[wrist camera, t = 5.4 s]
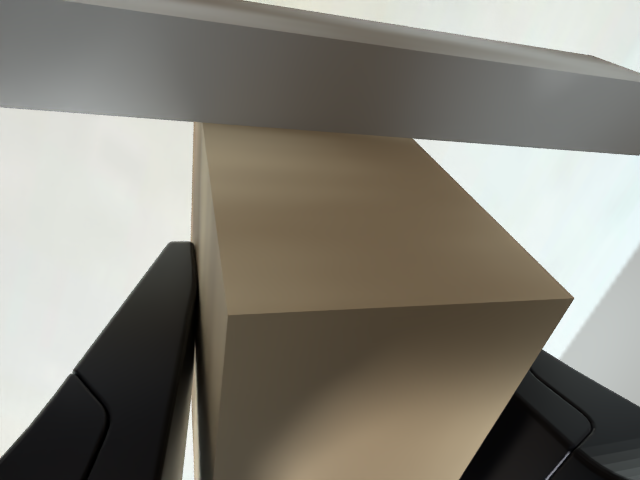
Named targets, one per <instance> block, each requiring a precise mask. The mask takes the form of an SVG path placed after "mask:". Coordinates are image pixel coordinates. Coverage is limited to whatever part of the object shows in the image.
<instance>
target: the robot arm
mask: <svg viewBox="0 0 640 480" xmlns="http://www.w3.org/2000/svg"><path fill="white" fill-rule="evenodd" d="M196 305H197V271H196V260H195V249H194V244H193V243H192V242H170V243H168V244H167V246H166V247H165V248H164V250H163V251H162V252H161V254H160V255H159V256H158V258H157V259H156V260H155V262H154V263H153V264H152V266H151V267H150V268H149V270H148V271H147V272H146V274H145V275H144V276H143V278H142V279H141V280H140V282H139V283H138V284H137V286H136V287H135V288H134V290H133V291H132V292H131V294H130V295H129V296H128V298H127V299H126V300H125V302H124V303H123V304H122V306H121V307H120V308H119V310H118V311H117V312H116V314H115V315H114V316H113V318H112V319H111V320H110V322H109V323H108V324H107V326H106V327H105V328H104V330H103V331H102V332H101V334H100V335H99V336H98V338H97V339H96V340H95V342H94V343H93V344H92V345H91V347H90V348H89V349H88V351H87V352H86V353H85V355H84V356H83V357H82V359H81V360H80V361H79V363H78V364H77V365H76V367H75V368H74V369H73V374H70V375H69V376H68V377H67V378H66V380H65V381H64V382H63V384H62V385H61V386H60V388H59V389H58V390H57V392H56V393H55V394H54V396H53V397H52V398H51V399H50V401H49V402H48V403H47V404H46V406H45V407H44V408H43V409H42V411H41V412H40V413H39V414H38V416H37V417H36V418H35V419H34V421H33V422H32V423H31V424H30V426H29V427H28V428H27V429H26V430H25V431H24V432H23V434H22V435H21V436H20V437H19V438H18V439H17V440H16V441H15V442H14V444H13V445H12V446H11V447H10V448H9V449H8V450H7V451H6V452H5V454H4V455H3V456H2V457H1V458H0V480H182V474H183V465H184V456H185V447H186V438H187V429H188V420H189V411H190V402H191V393H192V384H193V374H194V359H195V332H196ZM459 480H640V407H639V406H637V405H636V404H633V403H632V402H630V401H629V400H627V399H625V398H623V397H622V396H620V395H618V394H616V393H614V392H613V391H611V390H609V389H607V388H606V387H604V386H602V385H600V384H599V383H597V382H595V381H594V380H592V379H590V378H588V377H587V376H585V375H583V374H581V373H580V372H578V371H576V370H574V369H573V368H571V367H569V366H568V365H566V364H565V363H563V362H561V361H560V360H558V359H557V358H555V357H553V356H552V355H550V354H549V353H547V352H545V351H544V350H541V351H540V353H539V355H538V356H537V358H536V359H535V361H534V362H533V364H532V366H531V367H530V369H529V370H528V372H527V373H526V375H525V377H524V378H523V380H522V381H521V383H520V384H519V386H518V388H517V389H516V391H515V392H514V394H513V395H512V397H511V399H510V400H509V402H508V403H507V405H506V406H505V408H504V410H503V411H502V413H501V414H500V416H499V417H498V419H497V421H496V422H495V424H494V425H493V427H492V428H491V430H490V432H489V433H488V435H487V436H486V438H485V439H484V441H483V443H482V444H481V446H480V447H479V449H478V450H477V452H476V454H475V455H474V457H473V458H472V460H471V461H470V463H469V465H468V466H467V468H466V469H465V471H464V472H463V474H462V476H461V477H460V479H459Z"/></svg>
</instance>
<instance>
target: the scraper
mask: <svg viewBox="0 0 640 480" xmlns="http://www.w3.org/2000/svg"><path fill="white" fill-rule="evenodd" d="M0 107H4V108H17V109H31V110H44V111H57V112H70V113H83V114H97V115H110V116H123V117H136V118H150V119H163V120H176V121H189V122H194V134H193V173H192V212H191V242H192V243H193V244H194V249H195V260H196V271H197V305H196V332H195V359H194V374H193V384H192V393H191V399H192V427H193V454H194V480H459V479H460V477H461V476H462V474H463V472H464V471H465V469H466V468H467V466H468V465H469V463H470V461H471V460H472V458H473V457H474V455H475V454H476V452H477V450H478V449H479V447H480V446H481V444H482V443H483V441H484V439H485V438H486V436H487V435H488V433H489V432H490V430H491V428H492V427H493V425H494V424H495V422H496V421H497V419H498V417H499V416H500V414H501V413H502V411H503V410H504V408H505V406H506V405H507V403H508V402H509V400H510V399H511V397H512V395H513V394H514V392H515V391H516V389H517V388H518V386H519V384H520V383H521V381H522V380H523V378H524V377H525V375H526V373H527V372H528V370H529V369H530V367H531V366H532V364H533V362H534V361H535V359H536V358H537V356H538V355H539V353H540V351H541V350H542V348H543V347H544V345H545V344H546V342H547V340H548V339H549V337H550V336H551V334H552V333H553V331H554V329H555V328H556V326H557V325H558V323H559V322H560V320H561V318H562V317H563V315H564V314H565V312H566V311H567V309H568V307H569V306H570V304H571V303H572V301H573V300H574V297H573V296H572V295H571V294H570V293H569V292H568V291H567V290H566V289H565V288H564V287H562V286H561V285H560V284H559V283H558V282H557V281H556V280H555V279H554V278H553V277H552V276H551V275H550V274H549V273H548V272H547V271H546V270H545V269H544V268H543V267H542V266H541V265H540V264H539V263H538V262H537V261H536V260H535V259H534V258H533V257H532V256H531V255H530V254H529V253H528V252H527V251H526V250H525V249H524V248H523V247H522V246H521V245H520V244H519V243H518V242H517V241H516V240H515V239H514V238H513V237H512V236H511V235H510V234H509V233H508V232H507V231H506V230H505V229H504V228H503V227H502V226H501V225H500V224H499V223H498V222H497V221H496V220H495V219H494V218H493V217H492V216H491V215H490V214H489V213H487V212H486V211H485V210H484V209H483V208H482V207H481V206H480V205H479V204H478V203H477V202H476V201H475V200H474V199H473V198H472V197H471V196H470V195H469V194H468V193H467V192H466V191H465V190H464V189H463V188H462V187H461V186H460V185H459V184H458V183H457V182H456V181H455V180H454V179H453V178H452V177H451V176H450V175H449V174H448V173H447V172H446V171H445V170H444V169H443V168H442V167H441V166H440V165H439V164H438V163H437V162H436V161H435V160H434V159H433V158H432V157H431V156H430V155H429V154H428V153H427V152H426V151H425V150H424V149H423V148H422V147H421V146H420V145H419V144H418V143H417V142H416V141H415V140H414V139H427V140H440V141H453V142H467V143H480V144H493V145H506V146H519V147H533V148H546V149H559V150H572V151H585V152H599V153H612V154H625V155H638V156H639V155H640V73H638V72H635V71H633V70H630V69H627V68H624V67H622V66H619V65H616V64H613V63H611V62H608V61H605V60H602V59H600V58H597V57H594V56H591V55H584V54H578V53H572V52H565V51H559V50H553V49H546V48H540V47H534V46H527V45H521V44H515V43H508V42H502V41H496V40H489V39H483V38H477V37H471V36H464V35H458V34H452V33H445V32H439V31H433V30H426V29H420V28H414V27H407V26H401V25H395V24H388V23H382V22H376V21H369V20H363V19H357V18H350V17H344V16H338V15H332V14H325V13H319V12H313V11H306V10H300V9H294V8H287V7H281V6H275V5H268V4H262V3H256V2H249V1H243V0H0ZM412 138H414V139H412Z"/></svg>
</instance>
